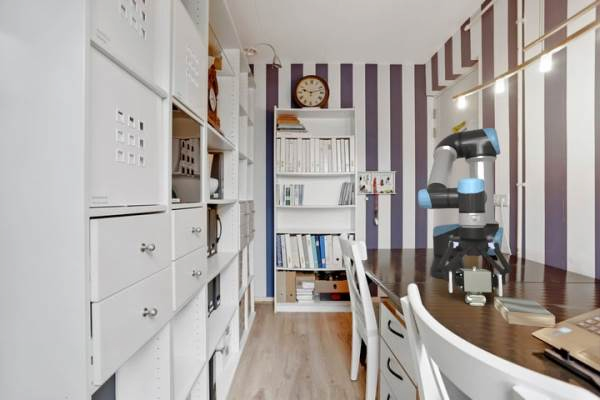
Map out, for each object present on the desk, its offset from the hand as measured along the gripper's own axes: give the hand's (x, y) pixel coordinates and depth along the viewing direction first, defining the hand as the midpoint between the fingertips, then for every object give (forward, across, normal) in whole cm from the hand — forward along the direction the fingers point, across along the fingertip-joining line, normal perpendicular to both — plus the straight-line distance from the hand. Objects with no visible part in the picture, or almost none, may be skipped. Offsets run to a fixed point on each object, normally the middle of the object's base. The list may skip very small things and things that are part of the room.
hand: (474, 293), depth 94 cm
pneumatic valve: (+4, 0, 0) cm, 4 cm away
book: (+4, +10, -8) cm, 13 cm away
